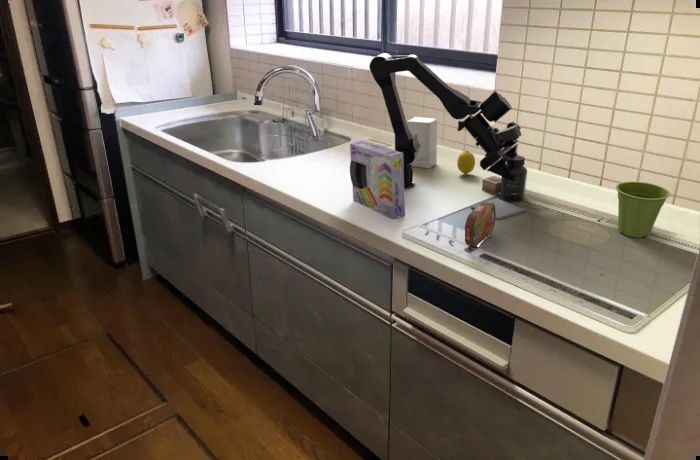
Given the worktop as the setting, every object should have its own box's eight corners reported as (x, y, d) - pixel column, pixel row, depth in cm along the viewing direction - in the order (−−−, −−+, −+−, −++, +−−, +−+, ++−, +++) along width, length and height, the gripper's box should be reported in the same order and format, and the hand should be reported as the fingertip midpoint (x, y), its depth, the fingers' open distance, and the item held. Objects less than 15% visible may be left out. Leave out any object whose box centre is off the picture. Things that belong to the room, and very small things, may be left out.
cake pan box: (349, 200, 169) (347, 140, 161) (363, 196, 171) (362, 137, 164) (391, 220, 154) (392, 156, 147) (405, 216, 157) (407, 152, 150)
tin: (473, 252, 136) (476, 219, 133) (461, 250, 138) (463, 217, 134) (495, 230, 148) (498, 198, 144) (483, 227, 149) (486, 196, 146)
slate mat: (497, 219, 154) (497, 217, 153) (470, 208, 161) (471, 206, 161) (524, 211, 158) (524, 209, 158) (496, 200, 166) (497, 198, 166)
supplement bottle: (529, 198, 167) (534, 158, 162) (512, 203, 164) (516, 162, 159) (511, 192, 172) (515, 152, 167) (494, 196, 169) (498, 156, 164)
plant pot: (620, 243, 139) (628, 199, 135) (600, 223, 150) (607, 181, 146) (670, 242, 139) (680, 198, 135) (647, 222, 150) (655, 180, 146)
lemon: (474, 177, 184) (475, 153, 181) (456, 176, 185) (457, 152, 182) (474, 172, 189) (476, 148, 186) (456, 171, 190) (458, 147, 187)
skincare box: (437, 164, 198) (438, 118, 191) (428, 169, 193) (430, 122, 186) (414, 160, 202) (415, 115, 195) (405, 165, 197) (406, 120, 190)
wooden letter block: (494, 194, 171) (495, 183, 169) (481, 190, 174) (482, 178, 173) (506, 191, 173) (507, 179, 172) (493, 186, 177) (494, 175, 176)
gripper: (494, 122, 153) (533, 168, 152) (513, 107, 167) (548, 149, 167) (464, 147, 159) (500, 192, 159) (484, 131, 174) (518, 172, 174)
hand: (518, 175), depth 164 cm, fingers open, 9 cm apart
